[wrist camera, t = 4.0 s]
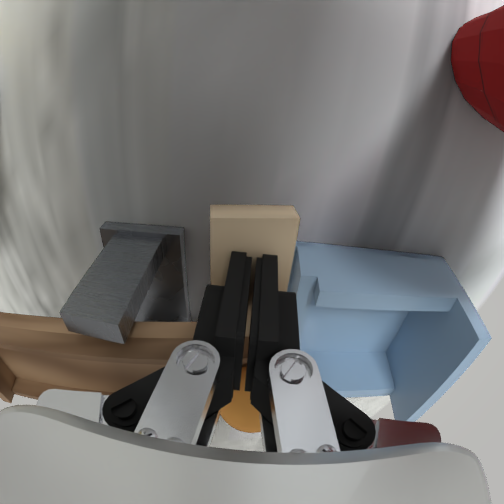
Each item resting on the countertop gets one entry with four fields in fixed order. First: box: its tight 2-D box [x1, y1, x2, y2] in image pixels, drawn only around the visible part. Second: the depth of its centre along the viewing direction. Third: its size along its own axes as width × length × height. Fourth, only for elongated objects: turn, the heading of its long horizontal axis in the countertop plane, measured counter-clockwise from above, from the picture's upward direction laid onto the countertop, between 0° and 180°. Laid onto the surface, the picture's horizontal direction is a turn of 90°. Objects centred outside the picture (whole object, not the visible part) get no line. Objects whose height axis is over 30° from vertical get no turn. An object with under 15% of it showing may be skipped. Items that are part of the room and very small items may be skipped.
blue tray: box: [287, 241, 491, 422], centre depth 16 cm, size 10×10×7 cm
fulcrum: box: [60, 222, 191, 344], centre depth 16 cm, size 10×5×7 cm, turn 176°
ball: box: [220, 366, 261, 433], centre depth 14 cm, size 4×4×4 cm
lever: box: [0, 205, 300, 415], centre depth 12 cm, size 12×18×3 cm
